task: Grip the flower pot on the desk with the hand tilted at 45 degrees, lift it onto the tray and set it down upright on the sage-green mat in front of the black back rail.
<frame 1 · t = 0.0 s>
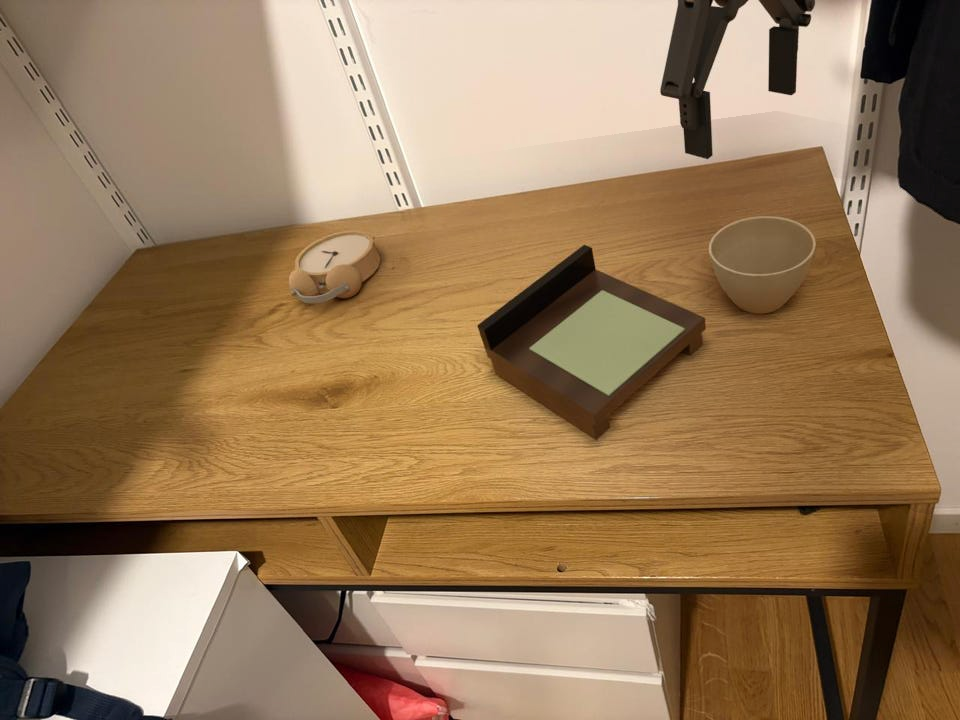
hand: (741, 122, 75), 16 cm above the table, tool pointing down, fingers open, 13 cm apart
tray: (596, 360, 79), on the table
alarm clock: (339, 281, 102), on the table
flower pot: (760, 299, 79), on the table
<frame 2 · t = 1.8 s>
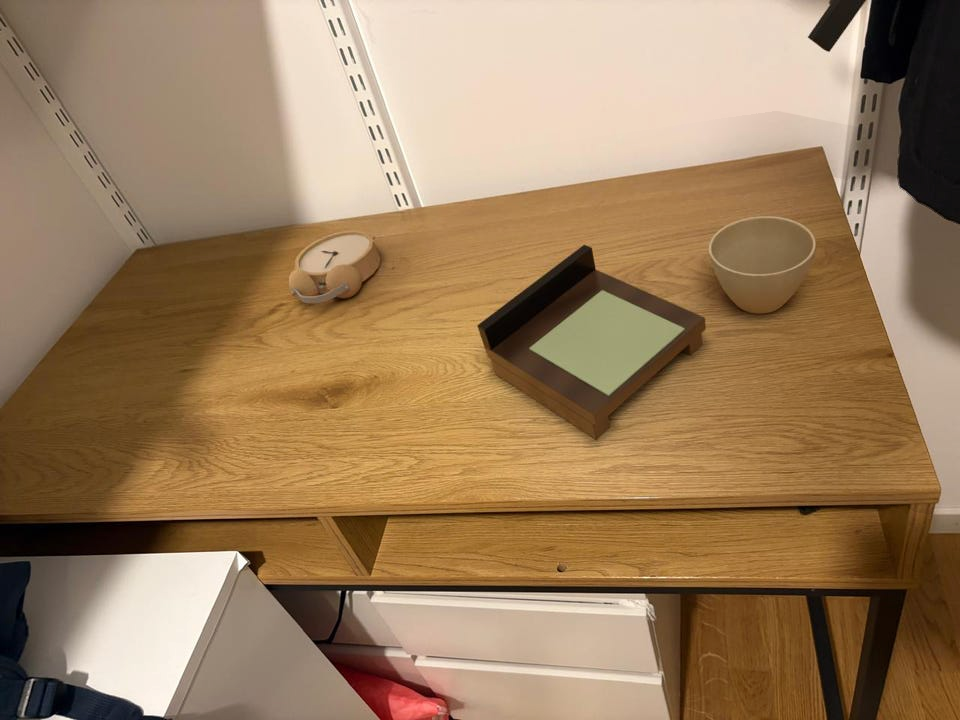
hand: (867, 66, 66), 22 cm above the table, tool tilted 45°, fingers open, 13 cm apart
nothing on the table moved.
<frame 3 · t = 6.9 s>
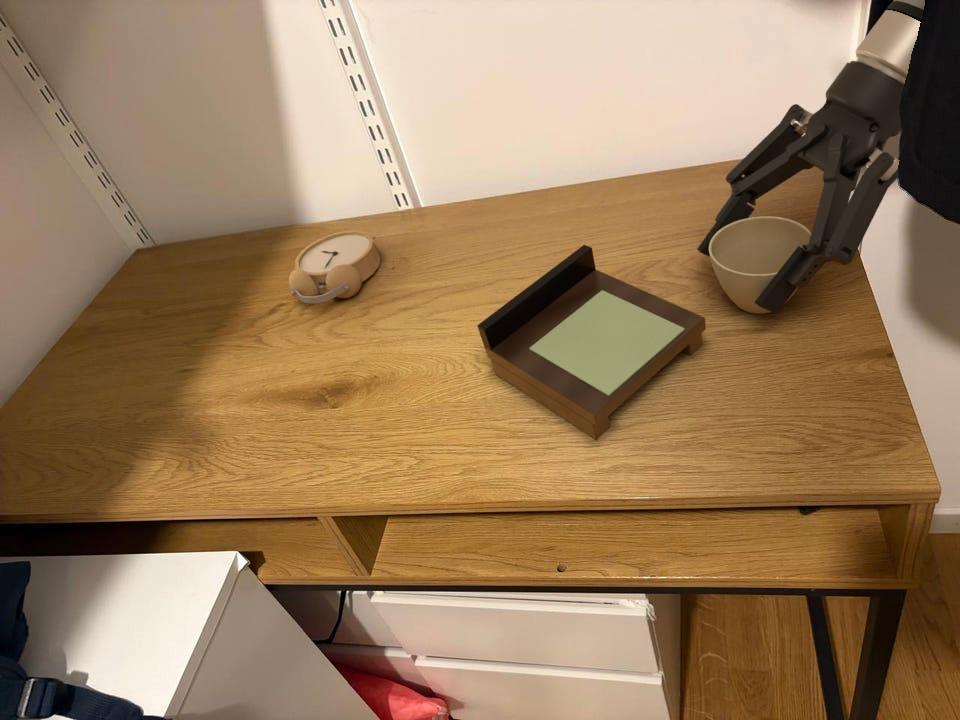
hand: (734, 280, 76), 4 cm above the table, tool tilted 45°, fingers closed on flower pot, 10 cm apart
flower pot: (760, 299, 79), on the table, touching gripper
everything else where it was.
when the fingers open (8 cm above the table, at t = 14.4 s): flower pot stays where it is, resting on tray.
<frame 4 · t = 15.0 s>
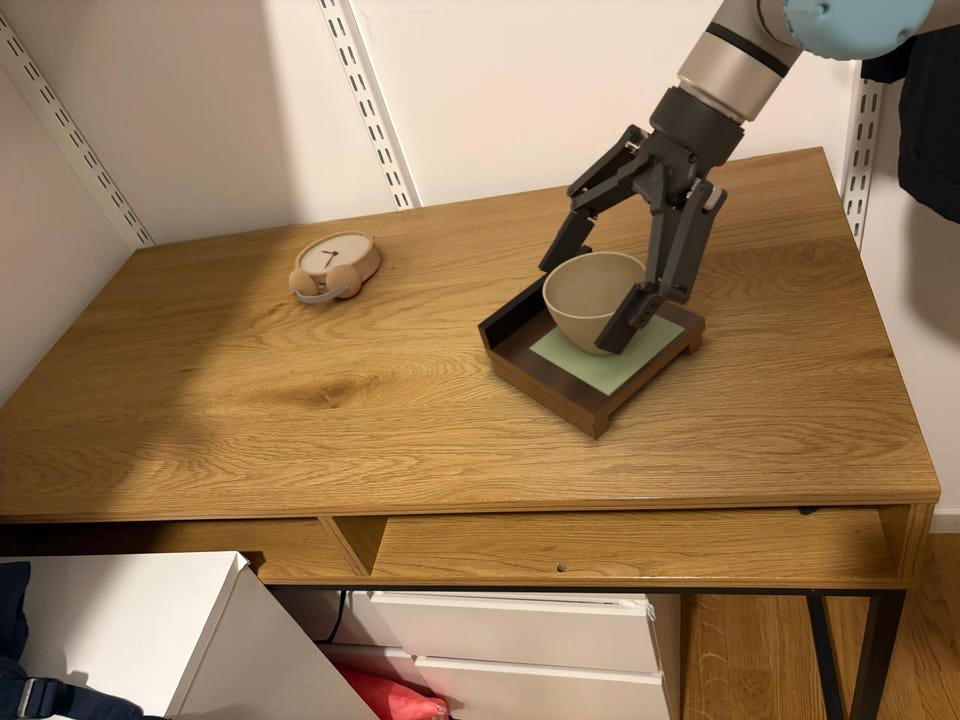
hand: (575, 308, 71), 9 cm above the table, tool tilted 45°, fingers open, 13 cm apart
flower pot: (605, 339, 75), point 4 cm above the table, touching tray
everything else where it was.
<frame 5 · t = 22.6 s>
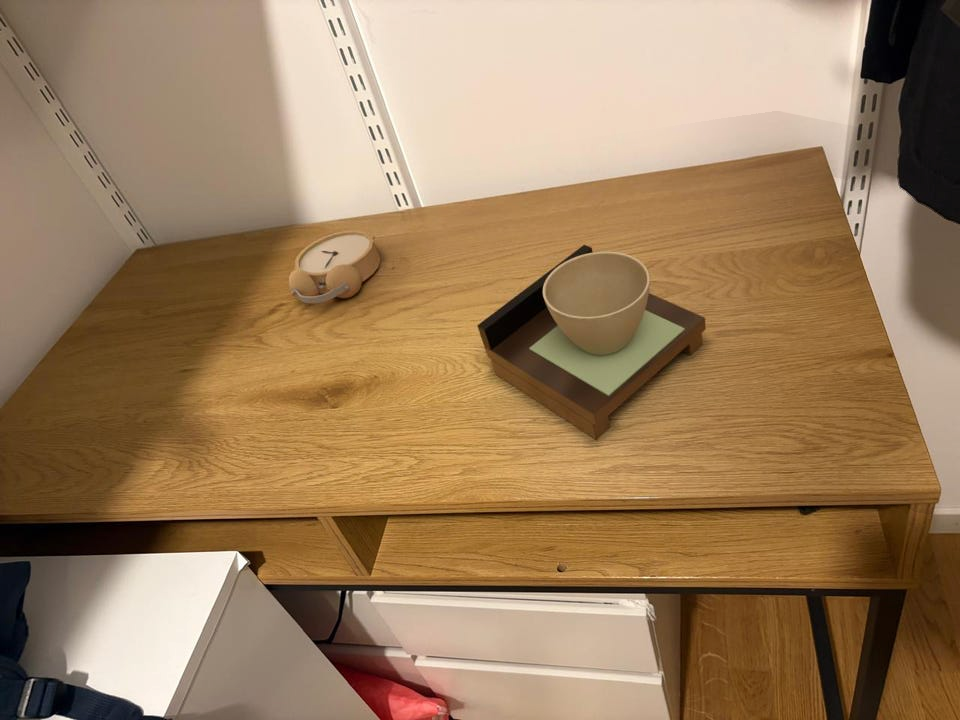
nothing on the table moved.
at the end: flower pot inside the target area on the tray (0.0 cm from its centre), point 4.0 cm above the tray's base; flower pot tilted 0°; alarm clock moved 0.2 cm from its start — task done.
